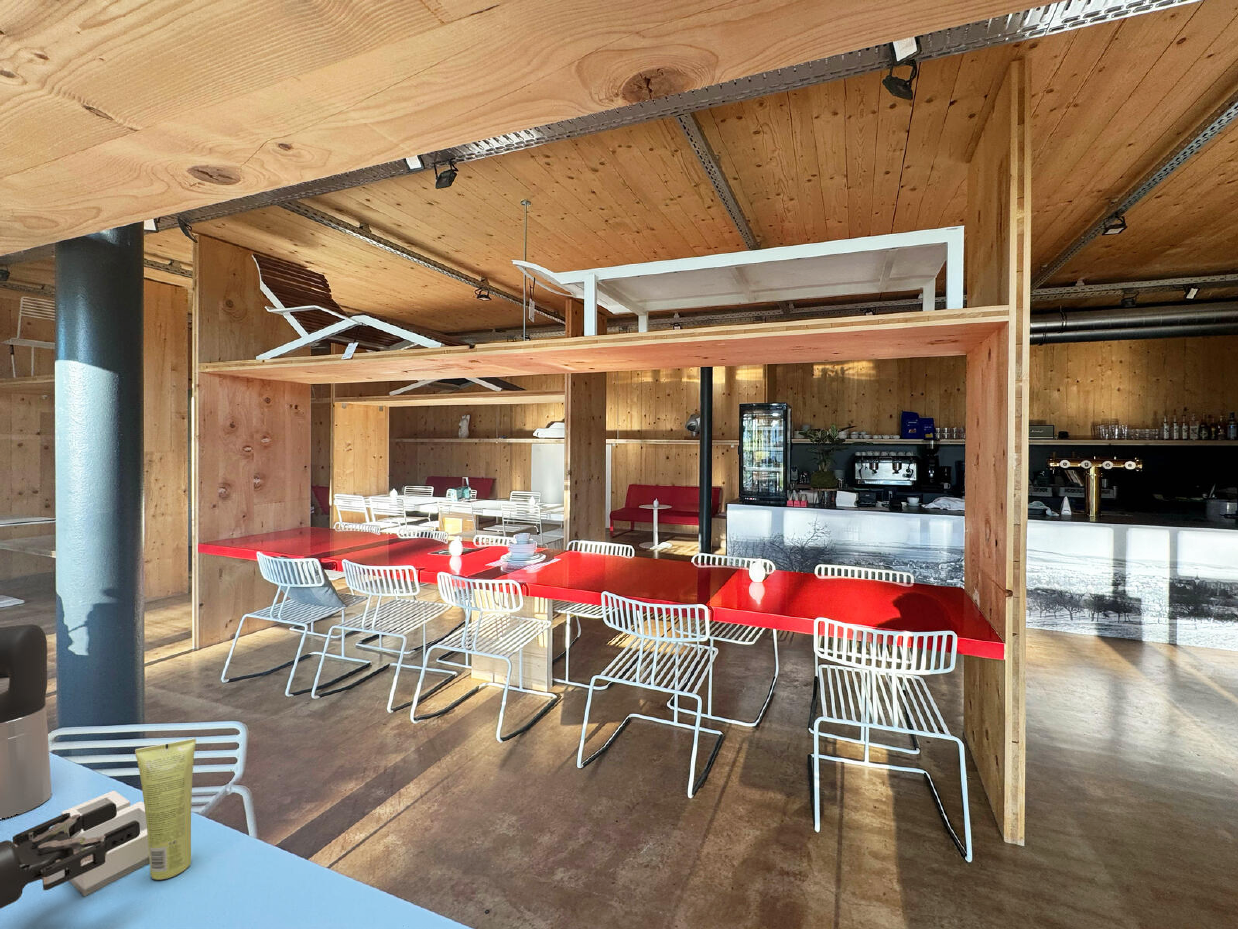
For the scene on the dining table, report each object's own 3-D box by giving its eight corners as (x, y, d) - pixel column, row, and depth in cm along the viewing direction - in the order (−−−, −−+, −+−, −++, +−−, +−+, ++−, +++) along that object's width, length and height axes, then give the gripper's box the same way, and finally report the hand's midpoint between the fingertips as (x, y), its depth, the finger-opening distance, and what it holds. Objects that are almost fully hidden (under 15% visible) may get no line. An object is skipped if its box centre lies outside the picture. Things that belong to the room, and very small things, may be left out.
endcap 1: (62, 838, 98) (61, 812, 97) (115, 815, 103) (114, 790, 103) (78, 852, 94) (76, 825, 94) (131, 827, 100) (130, 801, 100)
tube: (183, 852, 93) (176, 731, 92) (203, 860, 91) (196, 737, 90) (142, 876, 88) (134, 749, 87) (162, 886, 86) (154, 755, 85)
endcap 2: (56, 867, 90) (54, 839, 90) (142, 827, 100) (140, 801, 100) (84, 896, 84) (82, 866, 84) (173, 850, 94) (172, 822, 93)
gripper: (-26, 884, 67) (145, 807, 81) (-56, 843, 74) (106, 779, 88) (-22, 948, 67) (149, 860, 81) (-51, 900, 75) (109, 827, 88)
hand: (126, 818), depth 85 cm, fingers open, 8 cm apart
